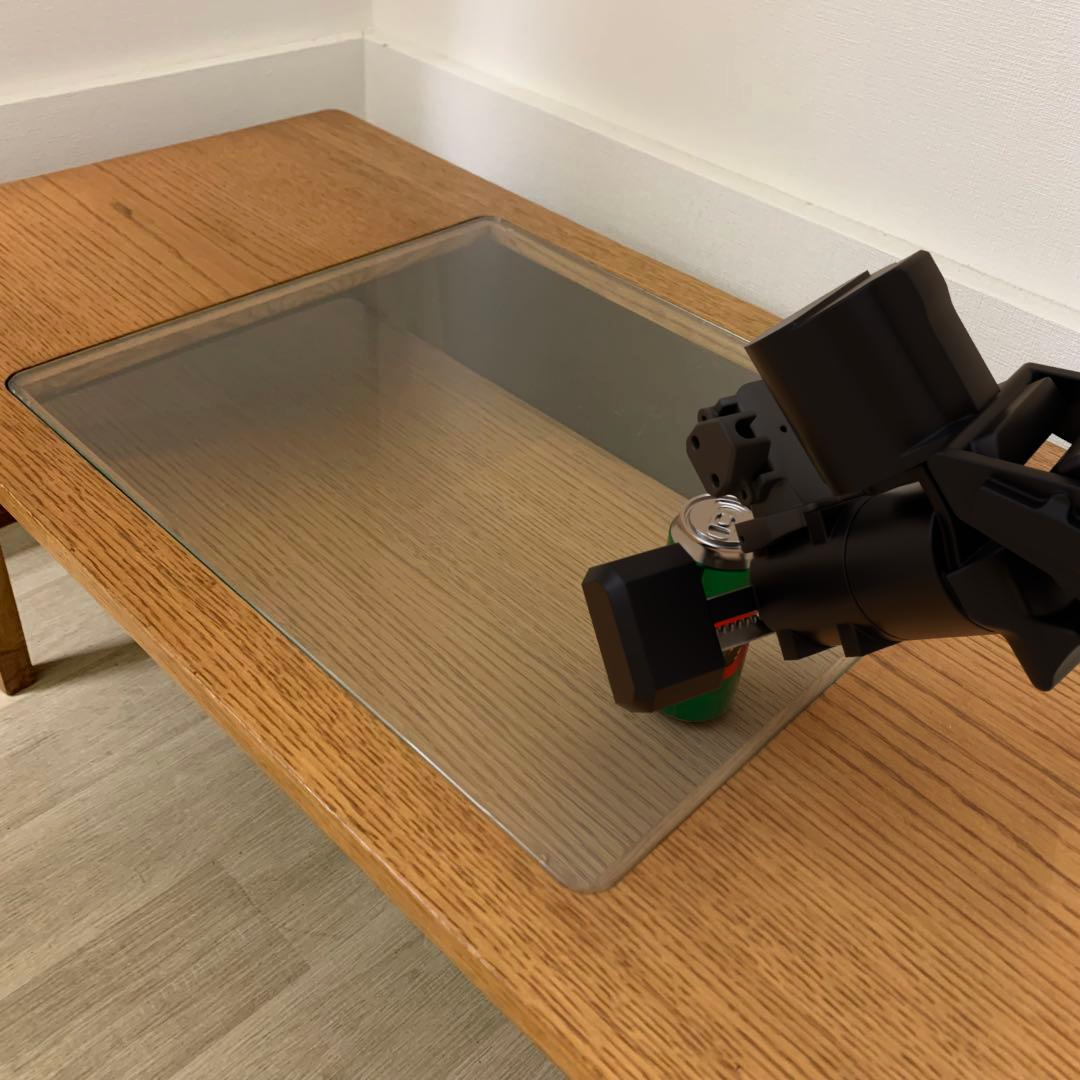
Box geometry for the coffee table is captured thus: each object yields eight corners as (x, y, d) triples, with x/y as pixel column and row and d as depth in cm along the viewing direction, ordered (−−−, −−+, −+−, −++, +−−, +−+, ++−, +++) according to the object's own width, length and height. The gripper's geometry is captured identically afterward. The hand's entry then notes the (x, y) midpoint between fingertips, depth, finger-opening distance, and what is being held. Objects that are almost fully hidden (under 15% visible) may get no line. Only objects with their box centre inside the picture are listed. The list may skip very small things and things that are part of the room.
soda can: (745, 679, 62) (791, 507, 54) (717, 742, 58) (762, 567, 51) (659, 647, 63) (692, 476, 56) (626, 707, 60) (657, 532, 52)
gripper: (1025, 315, 46) (802, 406, 60) (633, 406, 39) (485, 485, 53) (1104, 578, 46) (861, 607, 60) (724, 720, 38) (550, 714, 53)
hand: (699, 597), depth 56 cm, fingers open, 9 cm apart
